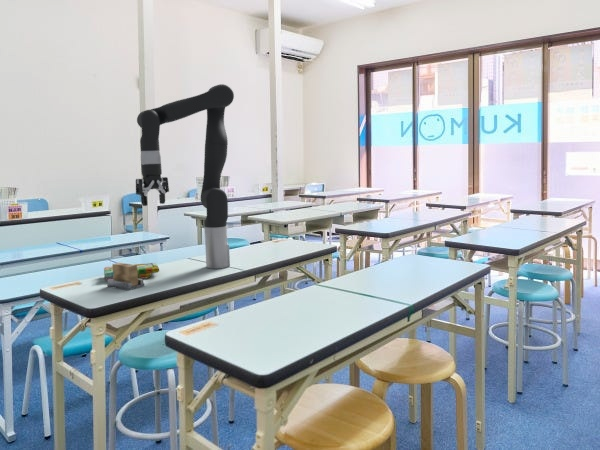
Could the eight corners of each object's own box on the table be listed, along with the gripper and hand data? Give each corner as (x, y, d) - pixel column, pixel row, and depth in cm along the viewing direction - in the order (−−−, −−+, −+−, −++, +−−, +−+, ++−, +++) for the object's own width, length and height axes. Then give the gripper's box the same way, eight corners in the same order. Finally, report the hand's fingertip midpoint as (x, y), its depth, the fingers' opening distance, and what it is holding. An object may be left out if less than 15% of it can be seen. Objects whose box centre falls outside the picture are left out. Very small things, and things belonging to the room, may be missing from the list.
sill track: (107, 286, 186) (106, 279, 186) (123, 282, 192) (122, 275, 192) (128, 290, 180) (127, 283, 179) (144, 286, 186) (143, 279, 185)
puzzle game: (103, 265, 202) (155, 260, 210) (104, 277, 203) (156, 272, 210) (104, 271, 191) (158, 266, 199) (105, 283, 192) (159, 277, 199)
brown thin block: (113, 282, 187) (112, 264, 187) (120, 281, 190) (119, 262, 189) (131, 286, 182) (130, 266, 181) (138, 284, 184) (136, 265, 183)
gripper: (158, 162, 205) (161, 202, 207) (129, 163, 194) (132, 206, 196) (171, 162, 201) (174, 203, 203) (142, 163, 189) (145, 206, 192)
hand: (153, 204), depth 199 cm, fingers open, 8 cm apart
